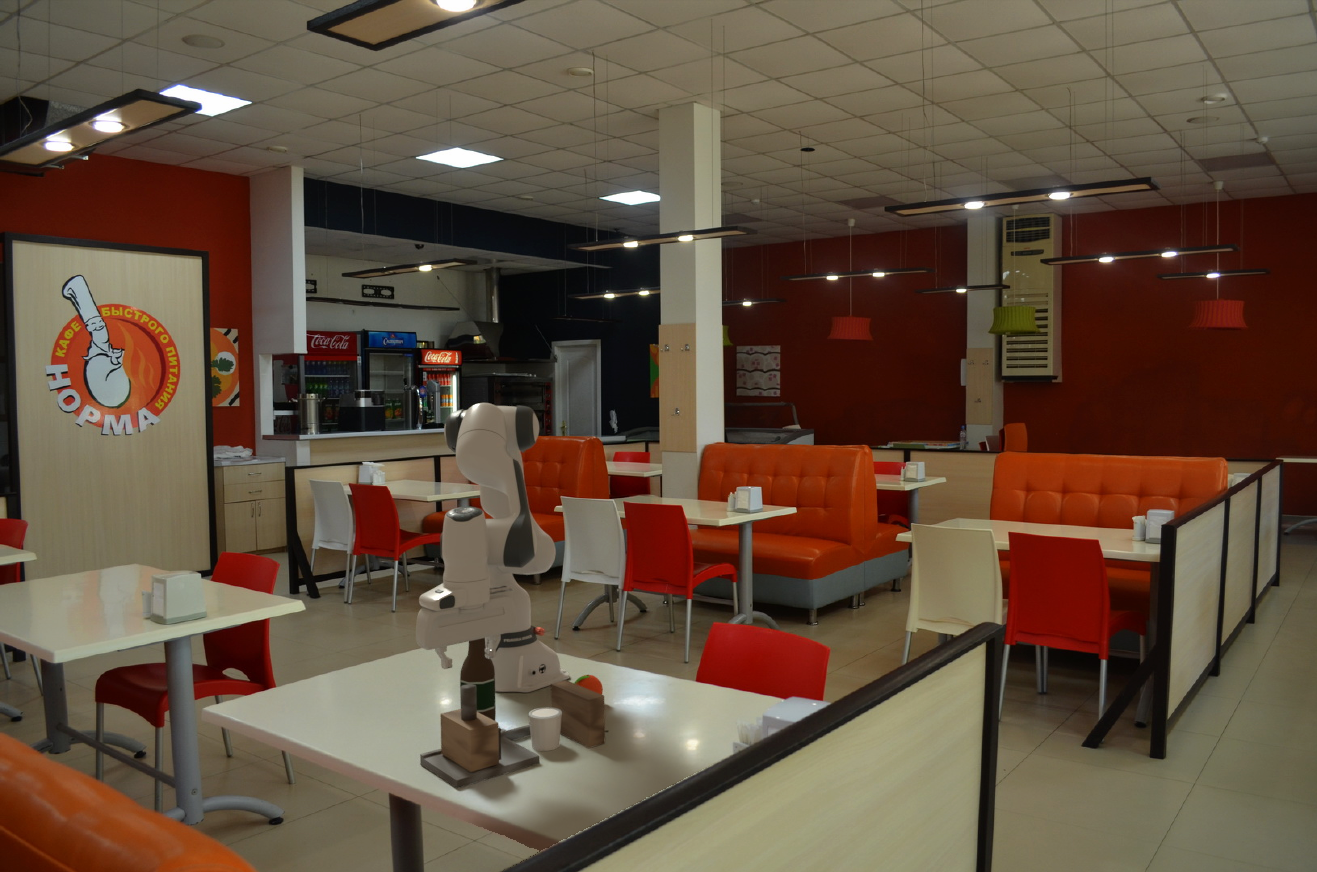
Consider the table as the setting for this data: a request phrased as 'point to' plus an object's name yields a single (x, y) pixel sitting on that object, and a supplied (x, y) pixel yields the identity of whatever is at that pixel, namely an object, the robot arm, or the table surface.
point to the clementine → (590, 683)
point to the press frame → (577, 723)
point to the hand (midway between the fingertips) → (469, 662)
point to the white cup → (545, 728)
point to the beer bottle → (480, 677)
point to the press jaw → (470, 734)
